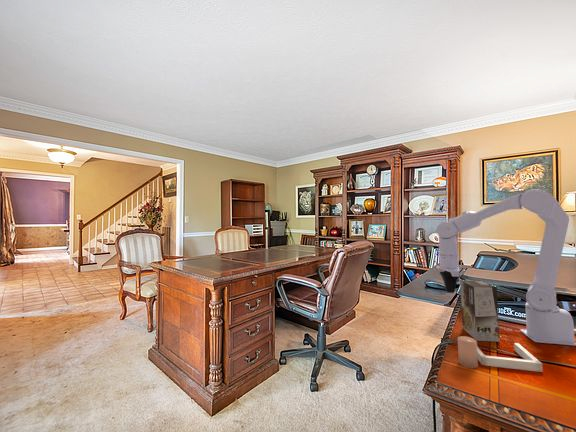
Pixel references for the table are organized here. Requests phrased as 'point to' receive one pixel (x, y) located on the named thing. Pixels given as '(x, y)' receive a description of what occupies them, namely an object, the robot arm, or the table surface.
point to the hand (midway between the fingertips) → (450, 292)
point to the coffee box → (480, 310)
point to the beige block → (467, 352)
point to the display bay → (512, 360)
